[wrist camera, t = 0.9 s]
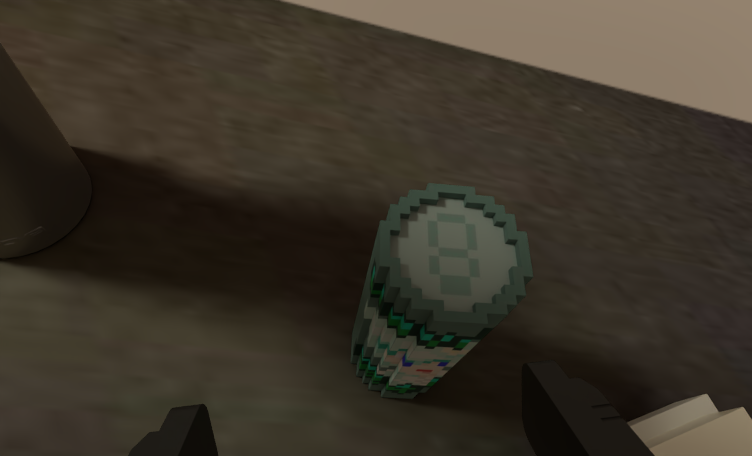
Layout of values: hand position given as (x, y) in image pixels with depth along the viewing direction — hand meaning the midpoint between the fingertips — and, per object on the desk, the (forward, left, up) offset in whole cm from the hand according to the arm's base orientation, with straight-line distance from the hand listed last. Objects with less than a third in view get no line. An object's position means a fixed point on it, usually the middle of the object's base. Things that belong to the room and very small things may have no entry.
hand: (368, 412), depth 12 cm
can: (-5, +6, -19) cm, 20 cm away
